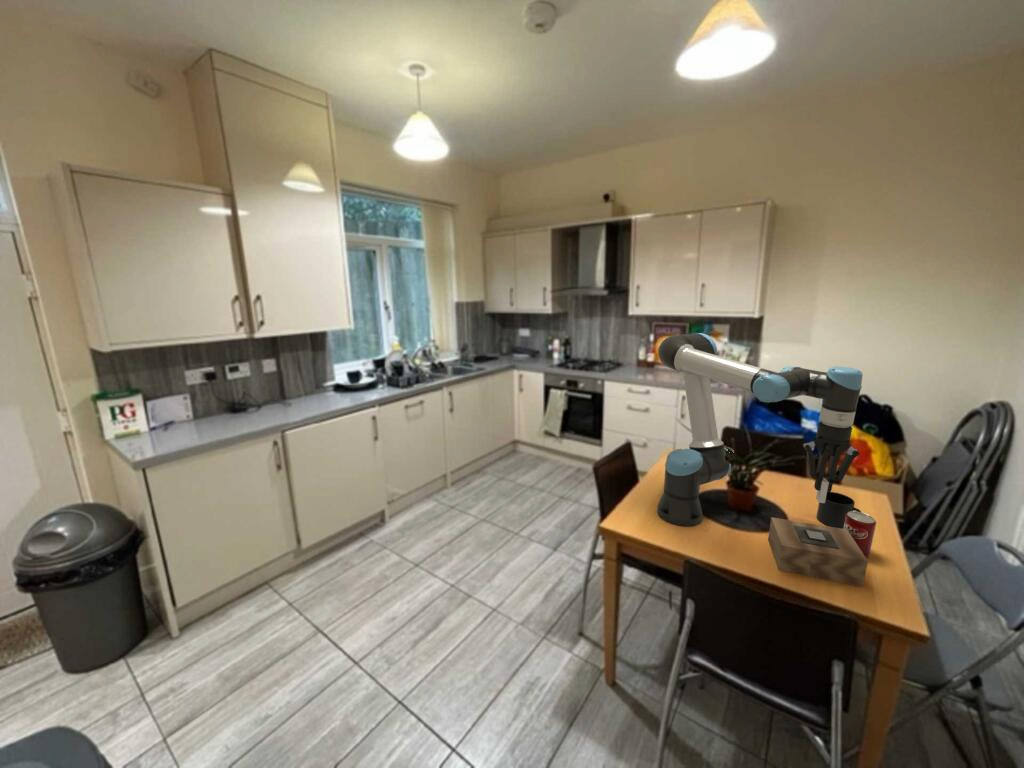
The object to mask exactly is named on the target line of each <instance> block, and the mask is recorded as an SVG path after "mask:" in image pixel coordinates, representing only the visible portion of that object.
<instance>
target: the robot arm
mask: <svg viewBox="0 0 1024 768" xmlns="http://www.w3.org/2000/svg"><path fill="white" fill-rule="evenodd" d="M717 354H718V347H717V343H716V342H715V340H714V339H713V338H712V337H711V336H709V335H708V334H705V333H700V332H699V333H698V332H695V333H694V332H692V333H686V334H685V333H684V334H674V335H670V336H668V337H665V339H663V340H662V341H661V343H660V344H659V346H658V350H657V356H658V358H659V361H660V362H661V364H662V365H663V366H665V367H667V368H669V369H671V370H673V371H677V372H678V373H679V374H680V375H681V376H683V382H684V389H685V390H684V391H685V396H686V401H687V402H686V403H687V409H688V416H689V424H690V430H691V436H692V437H691V438H692V441H691V442H690V443H689V445H688V448H684V449H682V448H678V449H677V448H676V449H674V450H672V451H670V452H669V453H668V454H667V456H666V460H665V464H664V467H665V469H664V483H663V492H662V494H661V496H660V499H659V501H658V503H657V505H656V513H657V515H658V516H659V518H661V519H662V520H664V521H665V522H667V523H670V524H673V525H676V526H679V527H680V526H682V527H691V526H692V527H693V526H697V525H698V524H701V522H702V520H703V511H702V506H701V502H700V498H699V497H700V489H701V488H700V487H701V486H702V485H705V484H709V483H711V482H714V481H719V480H721V479H723V478H725V477H728V475H729V474H731V472H732V470H731V464H729V462H728V461H726V459H725V456H726V451H728V449H726V448H725V447H724V446H725V445H724V441H722V440H721V439H720V438H719V436H718V435H719V433H718V428H717V421H716V414H715V407H714V402H713V401H714V400H713V393H712V386H711V380H713V381H716V382H718V383H722V384H725V385H728V386H730V387H733V388H737V389H739V390H743V391H745V392H748V393H751V394H754V396H755V397H756V398H757V399H758V400H759V401H760V402H764V403H779V402H781V401H783V400H788V399H791V398H792V399H793V398H796V397H800V396H806V397H811V398H816V399H819V400H822V402H821V407H820V408H821V409H820V412H819V422H818V425H817V428H816V435H815V436H814V438H813V439H812V441H810V442H803V444H802V446H803V448H804V449H805V451H806V459H807V469H808V473H809V475H810V477H811V478H812V479H813V478H814V479H815V481H814V485H813V486H814V489H815V490H816V496H815V499H816V501H817V502H818V503H819V502H820V503H825V500H826V495H827V492H832V491H833V484H835V483H836V482H841V481H843V480H844V478H845V476H846V474H847V472H848V470H849V468H850V467H851V465H852V463H853V461H854V460H855V459H856V458H857V457H858V456H859V455H860V451H858V449H856V448H855V447H852V444H851V442H850V441H851V438H852V437H851V436H852V432H853V427H852V426H853V425H854V422H855V416H856V412H857V406H858V402H859V397H860V393H861V390H862V383H863V382H862V381H863V372H862V370H860V369H857V368H854V367H847V366H831V367H829V368H828V370H827V371H826V372H825V371H819V370H815V369H814V370H813V369H809V368H803V367H801V366H789V365H788V366H785V367H783V368H782V369H781V370H780V371H779V372H778V371H773V370H769V369H766V368H762V367H759V366H756V365H755V366H754V365H752V364H748V363H745V362H742V361H741V362H740V361H739V360H738V361H737V360H734V359H731V358H727V357H724V356H721V355H717ZM815 447H816V448H817V450H818V453H819V454H818V455H819V456H818V461H817V467H816V464H815V454H814V452H813V451H814V450H815ZM725 450H726V451H725ZM845 452H846V453H845ZM729 453H730V452H729ZM844 453H845V454H844ZM843 454H844V456H843V458H842V460H841V462H840V464H839V466H838V463H839V460H840V459H841V458H840V457H841V455H843ZM828 459H829V461H828ZM827 461H828V466H827ZM826 467H827V471H826ZM837 467H838V468H837ZM825 472H826V475H825ZM824 476H826V477H824Z"/></svg>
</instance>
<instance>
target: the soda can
mask: <svg viewBox="0 0 1024 768" xmlns="http://www.w3.org/2000/svg"><path fill="white" fill-rule="evenodd" d="M876 526H877V521H876V520H875V518H874V517H873V516H871V515H870V514H867V513H864V512H862V511H861V512H857V511H854V510H853V511H850V512H848V513H846V515H845V520H844V526H843V529H847V530H848V532H849V533H850V535H851V536H852V538H853V539H854V541H855V542H856V544H857V545H858V547H859V548H860V550H861V551H862V553H863V554H864V556H865V557H866V558H868V557H870V555H871V550H872V545H873V540H874V536H875V532H876Z"/></svg>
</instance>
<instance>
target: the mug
mask: <svg viewBox="0 0 1024 768" xmlns="http://www.w3.org/2000/svg"><path fill="white" fill-rule="evenodd" d="M850 511H857V512H862V511H861V510H860V509H859V508H857V507H855V500H854V499H853V498H851V497H850V496H848V495H846V494H843V493H839V492H835V491H831V492H827V495H826V500H825V503H820V502H818V506H817V512H816V519H817V520H818V521H819V522H820V523H822V524H823V525H824V526H829V527H835V528H841V529H843V526H844V520H845V515H846V513H848V512H850Z"/></svg>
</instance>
